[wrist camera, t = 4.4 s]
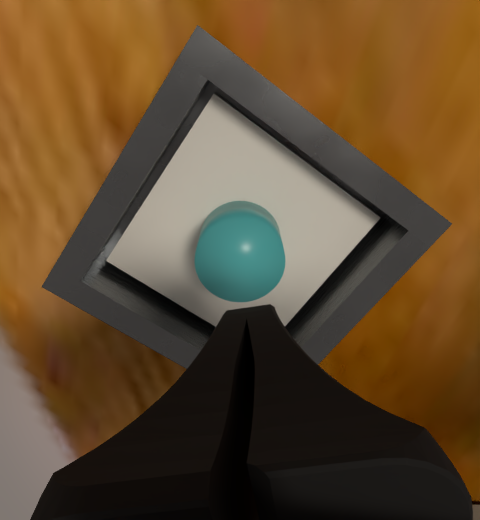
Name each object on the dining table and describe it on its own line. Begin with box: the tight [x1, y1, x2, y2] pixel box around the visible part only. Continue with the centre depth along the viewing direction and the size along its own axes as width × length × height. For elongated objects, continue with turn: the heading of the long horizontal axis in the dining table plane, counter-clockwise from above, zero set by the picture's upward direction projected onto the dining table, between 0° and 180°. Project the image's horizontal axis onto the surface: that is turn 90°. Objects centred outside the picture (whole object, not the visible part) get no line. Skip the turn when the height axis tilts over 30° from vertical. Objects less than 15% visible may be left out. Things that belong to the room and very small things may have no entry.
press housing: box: [42, 25, 452, 369], centre depth 20 cm, size 12×12×4 cm
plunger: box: [106, 92, 380, 327], centre depth 19 cm, size 9×9×4 cm
